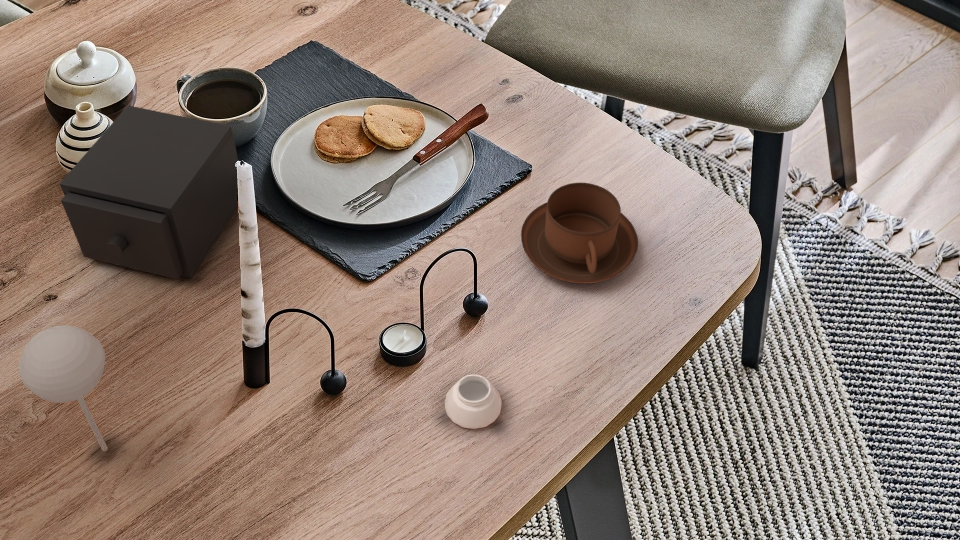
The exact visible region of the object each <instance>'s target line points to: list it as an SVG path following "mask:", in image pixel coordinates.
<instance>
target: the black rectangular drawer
mask: <svg viewBox="0 0 960 540" xmlns="http://www.w3.org/2000/svg"><path fill="white" fill-rule="evenodd" d="M60 202H61V204H62V207H63V209H64V212H65V214H66V216H67V219H68V221H69V223H70V224H69V225H70V226H71V229H72V231H73V233H74V235H75V239H76V241H77V244H78V246H79V248H80V251H81V253H82V255H83V257H84V258H88V259H91V260H96V261H100V262H104V263H108V264H112V265H116V266H121V267H125V268H129V269H133V270H138V271H142V272H146V273H150V274H154V275H158V276H162V277H166V278H170V279H175V280H179V279H180V277H182V276H181V274H182V273H183V271H184V270H183V267H182V264H181V260H180V257H179V254H178V250H177V247H176V244H175V241H174V237H173V234H172V231H171V227H170V224H169V221H168V217H167V215H166V214H165V213H162V212H158V211H154V210H149V209H145V208H141V207H136V206H132V205H127V204H123V203H119V202H114V201H110V200H105V199H101V198H97V197H92V196H88V195H86V196H82V195H78V194H74V193H69V192H67V194H66V195H65V196H64V195H63V196H62V198H61V199H60Z"/></svg>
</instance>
